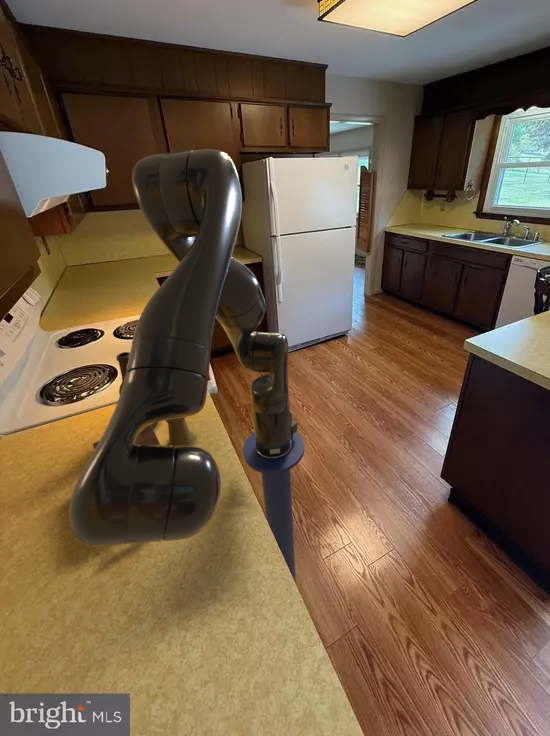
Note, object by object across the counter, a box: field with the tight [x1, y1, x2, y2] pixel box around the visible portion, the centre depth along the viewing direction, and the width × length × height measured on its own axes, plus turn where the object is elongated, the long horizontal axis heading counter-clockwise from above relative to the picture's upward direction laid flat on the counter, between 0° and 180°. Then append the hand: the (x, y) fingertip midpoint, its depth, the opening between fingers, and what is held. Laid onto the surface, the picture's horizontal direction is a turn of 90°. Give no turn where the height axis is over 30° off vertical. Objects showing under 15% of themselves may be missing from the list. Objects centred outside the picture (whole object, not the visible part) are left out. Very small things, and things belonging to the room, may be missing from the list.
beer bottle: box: [116, 351, 159, 430], centre depth 91 cm, size 8×8×24 cm
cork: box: [164, 417, 194, 447], centre depth 87 cm, size 6×6×11 cm
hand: (144, 494), depth 54 cm, fingers closed
